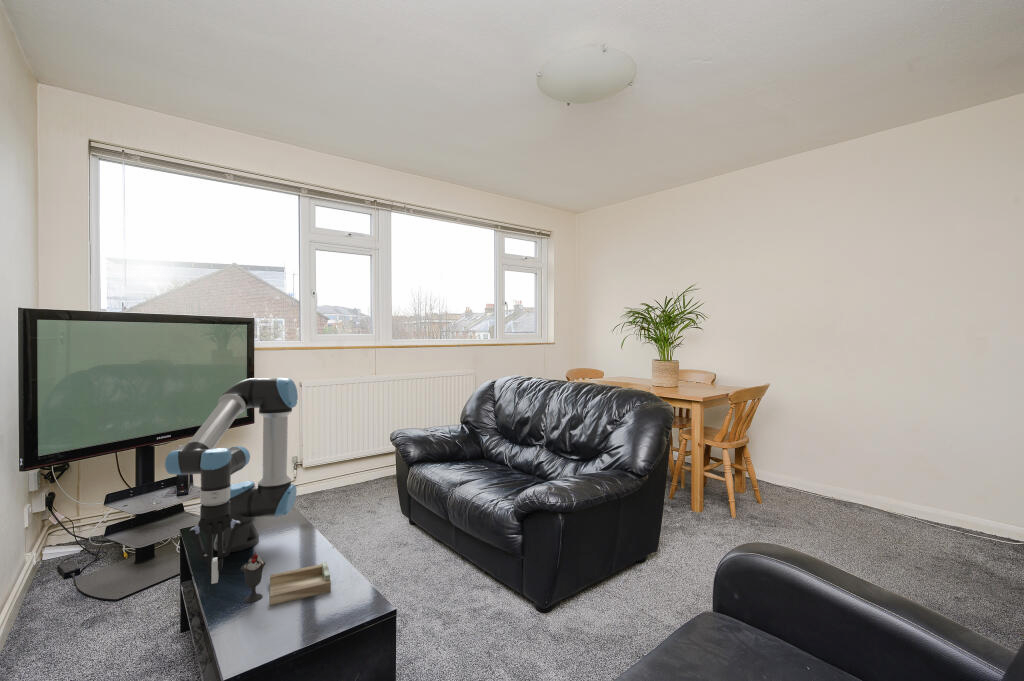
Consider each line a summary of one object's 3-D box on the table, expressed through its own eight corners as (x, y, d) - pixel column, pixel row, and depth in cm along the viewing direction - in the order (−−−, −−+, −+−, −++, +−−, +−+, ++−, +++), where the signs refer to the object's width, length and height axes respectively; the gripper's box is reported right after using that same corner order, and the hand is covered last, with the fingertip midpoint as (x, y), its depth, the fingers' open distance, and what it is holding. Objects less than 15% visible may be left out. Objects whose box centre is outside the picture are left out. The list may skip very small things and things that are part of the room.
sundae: (254, 605, 136) (255, 555, 136) (235, 603, 138) (235, 553, 138) (270, 593, 143) (271, 546, 143) (252, 591, 144) (252, 544, 144)
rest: (270, 584, 148) (270, 570, 148) (326, 571, 156) (326, 559, 156) (270, 606, 136) (270, 591, 136) (330, 591, 144) (330, 577, 144)
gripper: (186, 509, 129) (186, 592, 129) (240, 502, 135) (239, 581, 135) (191, 501, 136) (190, 580, 136) (241, 494, 142) (241, 570, 142)
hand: (214, 581), depth 135 cm, fingers closed
